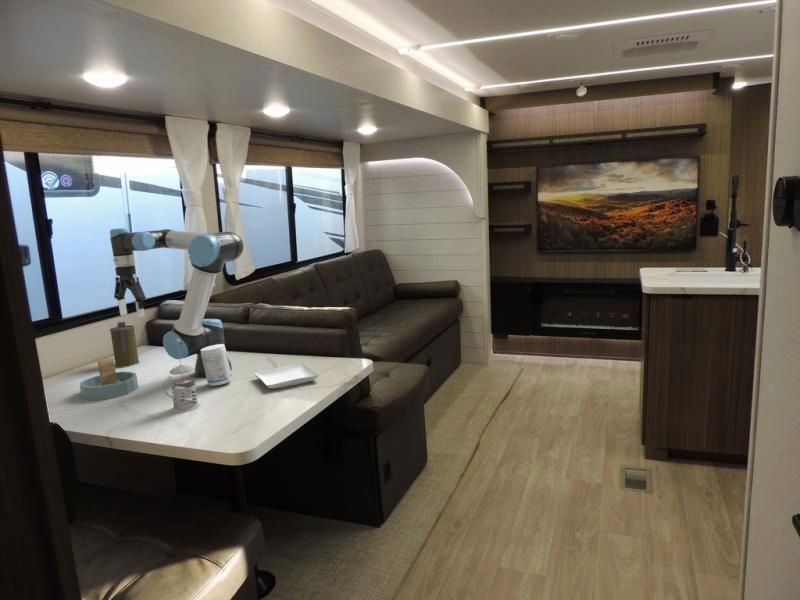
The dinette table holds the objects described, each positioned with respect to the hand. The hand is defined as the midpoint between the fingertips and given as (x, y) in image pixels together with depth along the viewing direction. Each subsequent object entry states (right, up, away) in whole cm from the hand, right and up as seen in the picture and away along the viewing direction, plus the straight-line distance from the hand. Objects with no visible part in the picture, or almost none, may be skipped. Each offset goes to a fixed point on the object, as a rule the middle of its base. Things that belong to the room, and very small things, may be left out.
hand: (132, 315), depth 245 cm
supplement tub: (+41, -26, -14) cm, 51 cm away
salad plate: (+68, -26, -15) cm, 74 cm away
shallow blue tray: (-2, -30, -14) cm, 33 cm away
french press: (+37, -32, -40) cm, 63 cm away
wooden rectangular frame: (-2, -29, -15) cm, 32 cm away
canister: (-15, -23, +27) cm, 38 cm away
